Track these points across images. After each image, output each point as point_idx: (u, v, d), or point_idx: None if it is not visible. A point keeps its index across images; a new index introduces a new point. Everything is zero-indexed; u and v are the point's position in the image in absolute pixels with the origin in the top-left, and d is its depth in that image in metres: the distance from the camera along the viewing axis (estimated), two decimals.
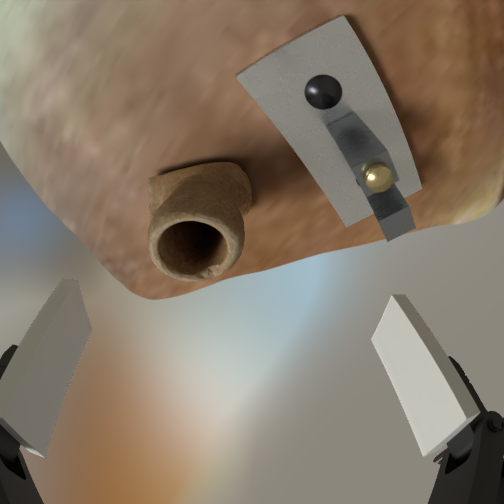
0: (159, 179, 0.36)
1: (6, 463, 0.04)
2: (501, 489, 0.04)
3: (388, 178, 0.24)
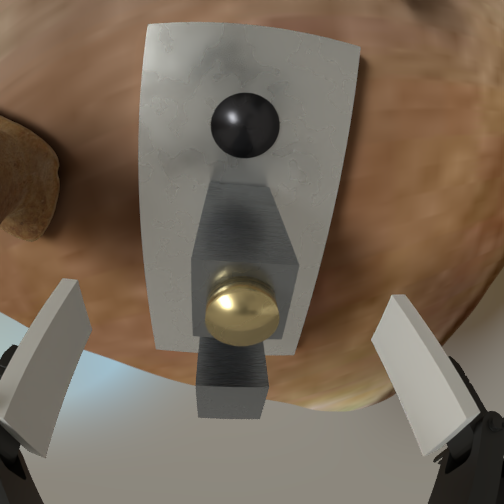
0: None
1: (6, 463, 0.04)
2: (501, 489, 0.04)
3: (263, 326, 0.11)
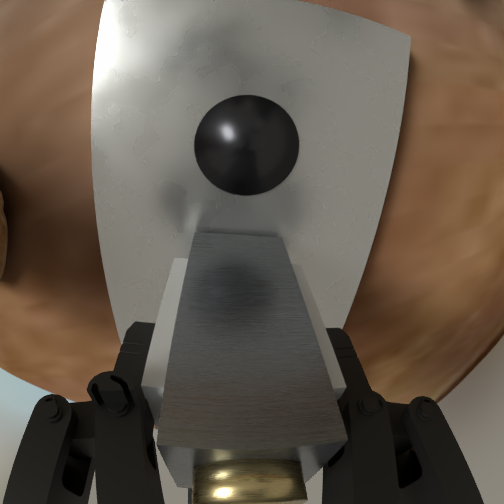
0: None
1: None
2: (418, 494, 0.05)
3: None
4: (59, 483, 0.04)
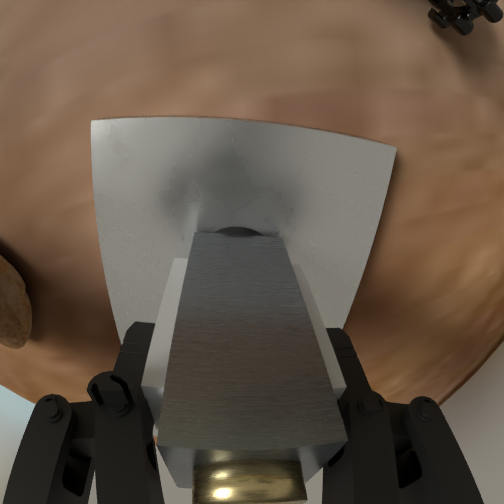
0: None
1: None
2: (418, 494, 0.05)
3: None
4: (58, 483, 0.04)
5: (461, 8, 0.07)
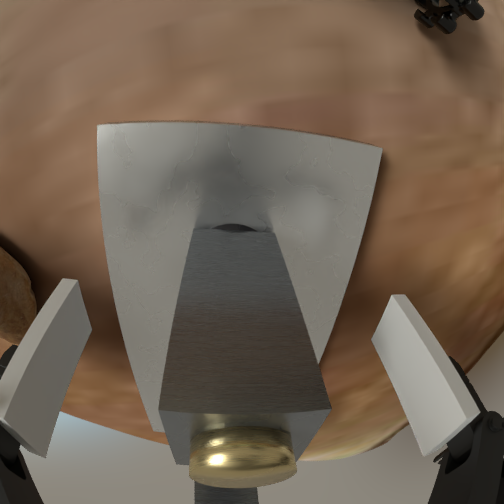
0: None
1: (6, 463, 0.04)
2: (501, 489, 0.04)
3: (272, 477, 0.06)
4: None
5: (445, 8, 0.08)
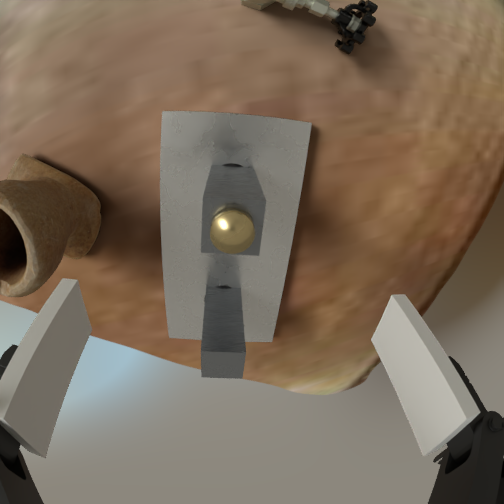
0: (29, 161, 0.23)
1: (6, 463, 0.04)
2: (501, 489, 0.04)
3: (245, 237, 0.18)
4: None
5: (348, 38, 0.20)
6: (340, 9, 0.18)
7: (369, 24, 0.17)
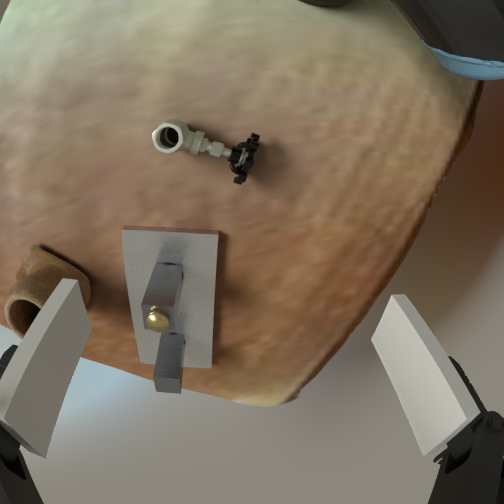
0: (38, 251, 0.37)
1: (6, 463, 0.04)
2: (501, 489, 0.04)
3: (163, 325, 0.33)
4: None
5: None
6: (232, 150, 0.33)
7: (248, 167, 0.32)
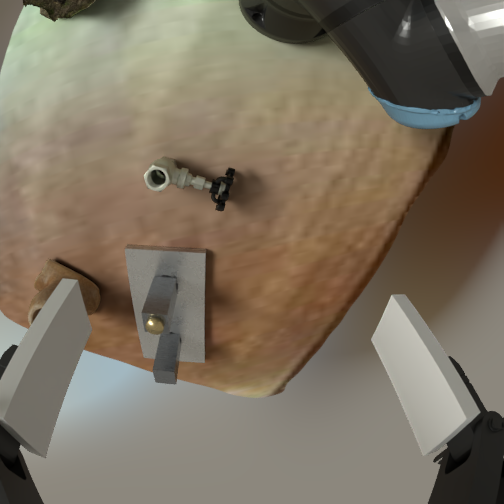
0: (54, 264, 0.46)
1: (6, 463, 0.04)
2: (501, 489, 0.04)
3: (159, 329, 0.41)
4: None
5: (221, 200, 0.42)
6: (212, 183, 0.40)
7: (225, 200, 0.39)
